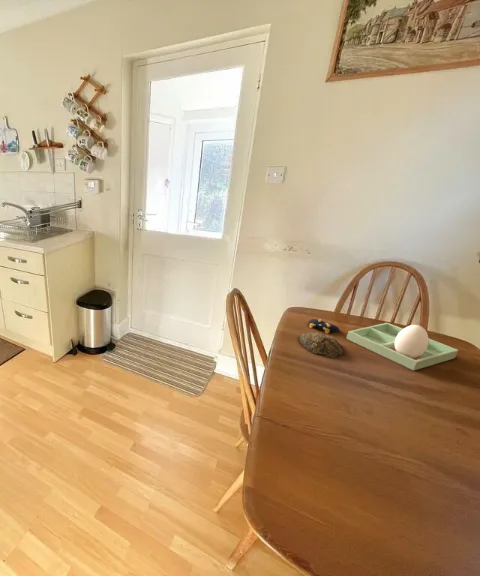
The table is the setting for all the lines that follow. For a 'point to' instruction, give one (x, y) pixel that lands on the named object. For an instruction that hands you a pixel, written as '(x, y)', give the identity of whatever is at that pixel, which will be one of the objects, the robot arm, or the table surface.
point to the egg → (412, 341)
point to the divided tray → (384, 344)
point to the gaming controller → (323, 325)
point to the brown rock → (321, 344)
